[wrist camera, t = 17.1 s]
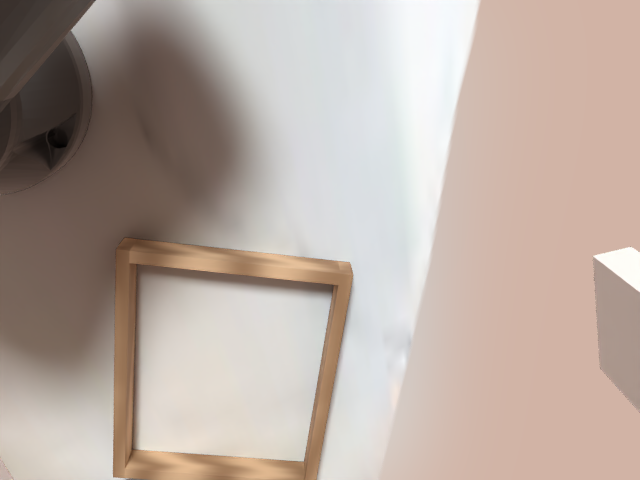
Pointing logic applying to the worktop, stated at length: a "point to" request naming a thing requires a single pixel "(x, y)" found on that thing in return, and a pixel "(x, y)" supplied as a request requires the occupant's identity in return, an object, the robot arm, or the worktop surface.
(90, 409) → the worktop surface
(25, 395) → the worktop surface
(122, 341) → the wooden picture frame
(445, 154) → the worktop surface
